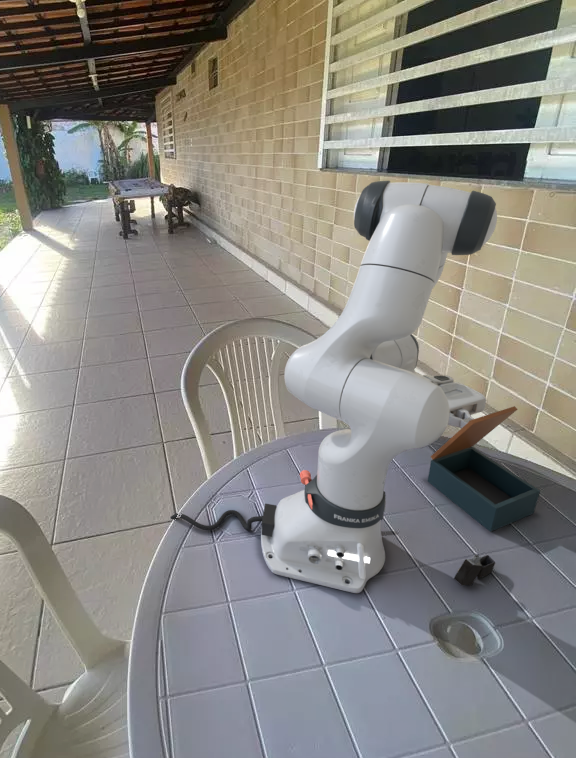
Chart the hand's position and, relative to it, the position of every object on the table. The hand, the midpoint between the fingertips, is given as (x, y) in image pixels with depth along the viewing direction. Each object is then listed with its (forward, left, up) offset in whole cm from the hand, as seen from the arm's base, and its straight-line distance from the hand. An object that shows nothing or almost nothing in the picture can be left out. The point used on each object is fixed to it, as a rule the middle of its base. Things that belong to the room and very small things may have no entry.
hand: (473, 426), depth 86 cm
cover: (0, 0, -2) cm, 2 cm away
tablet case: (+2, -3, -15) cm, 15 cm away
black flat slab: (+2, -3, -15) cm, 15 cm away
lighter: (-8, -22, -15) cm, 28 cm away
